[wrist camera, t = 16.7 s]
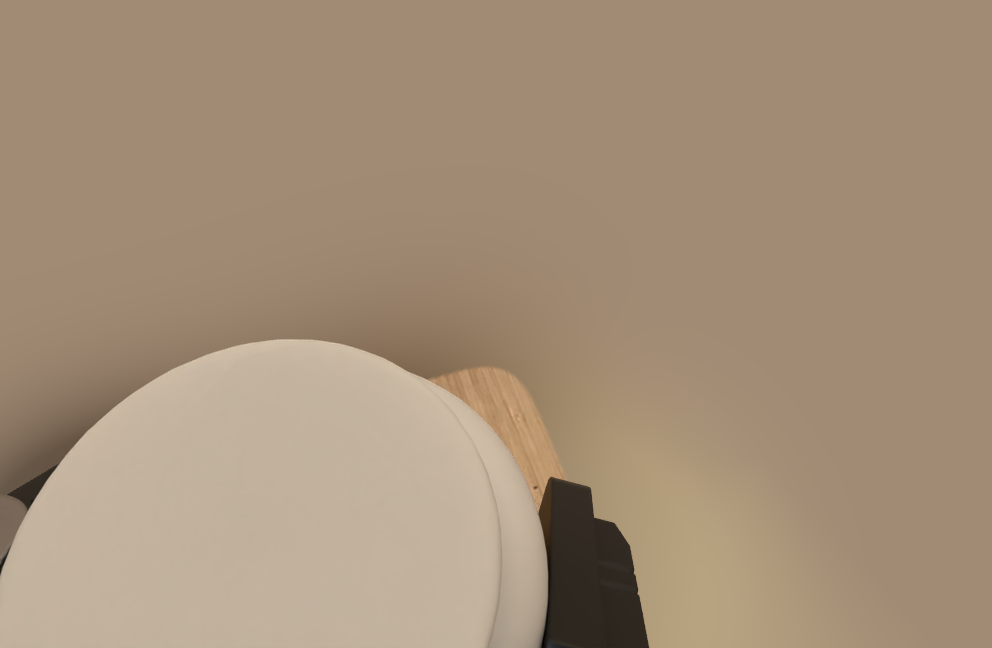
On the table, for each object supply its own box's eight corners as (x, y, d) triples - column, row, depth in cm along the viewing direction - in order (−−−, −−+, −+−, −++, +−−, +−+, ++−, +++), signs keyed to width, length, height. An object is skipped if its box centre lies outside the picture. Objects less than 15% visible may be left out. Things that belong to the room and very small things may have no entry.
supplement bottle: (511, 711, 12) (683, 988, 3) (257, 750, 12) (-377, 1228, 3) (486, 466, 15) (546, 251, 6) (276, 487, 14) (-19, 278, 5)
